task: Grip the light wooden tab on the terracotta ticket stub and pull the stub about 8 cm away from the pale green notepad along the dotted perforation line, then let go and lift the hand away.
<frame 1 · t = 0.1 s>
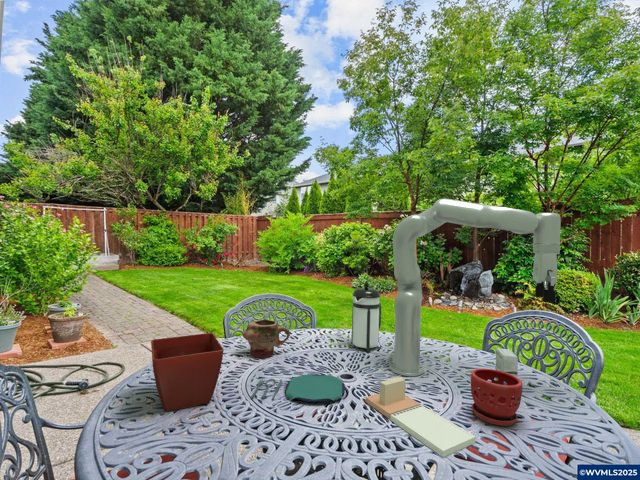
hand: (544, 299, 114), 31 cm above the table, tool pointing down, fingers open, 9 cm apart
cutlery set: (300, 392, 111), on the table
pale green notepad: (430, 430, 89), on the table
plant pot: (185, 399, 103), on the table
plant pot 2: (494, 417, 97), on the table
ink box: (505, 385, 118), on the table
coffee press: (365, 347, 156), on the table
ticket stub: (392, 393, 102), point 4 cm above the table, slide at 0.0 cm
brown rounded handled piece: (265, 355, 143), on the table
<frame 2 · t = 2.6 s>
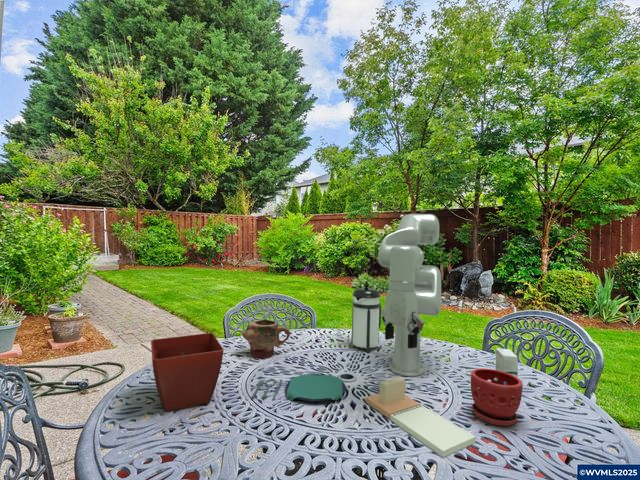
hand: (400, 343, 102), 19 cm above the table, tool pointing down, fingers open, 9 cm apart
nothing on the table moved.
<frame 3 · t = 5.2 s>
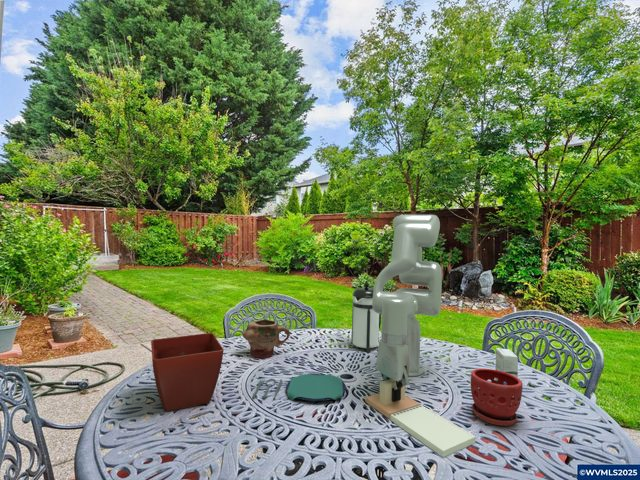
hand: (392, 398, 102), 2 cm above the table, tool pointing down, fingers closed on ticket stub, 2 cm apart
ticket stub: (392, 393, 102), point 4 cm above the table, slide at 0.0 cm, touching gripper
everything else where it was.
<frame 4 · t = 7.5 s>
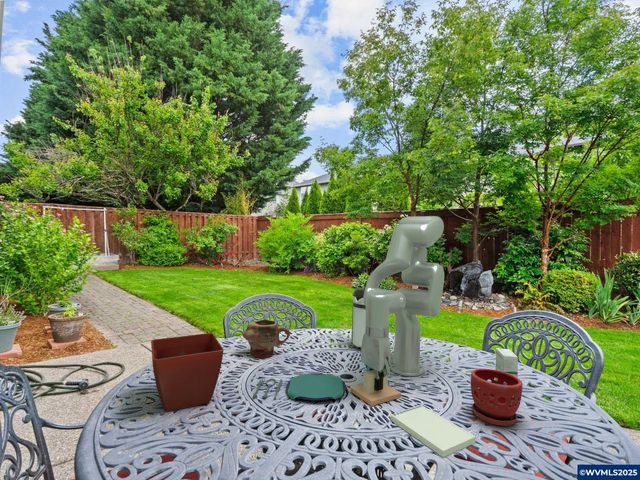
hand: (375, 387, 109), 2 cm above the table, tool pointing down, fingers closed on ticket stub, 2 cm apart
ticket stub: (375, 382, 109), point 4 cm above the table, slide at 8.0 cm, touching gripper
everything else where it was.
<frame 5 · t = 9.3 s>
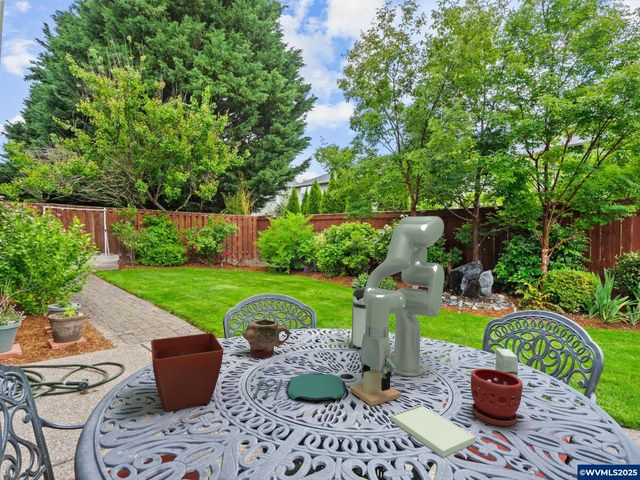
hand: (375, 383, 109), 4 cm above the table, tool pointing down, fingers open, 9 cm apart
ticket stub: (375, 382, 109), point 4 cm above the table, slide at 8.0 cm
everything else where it was.
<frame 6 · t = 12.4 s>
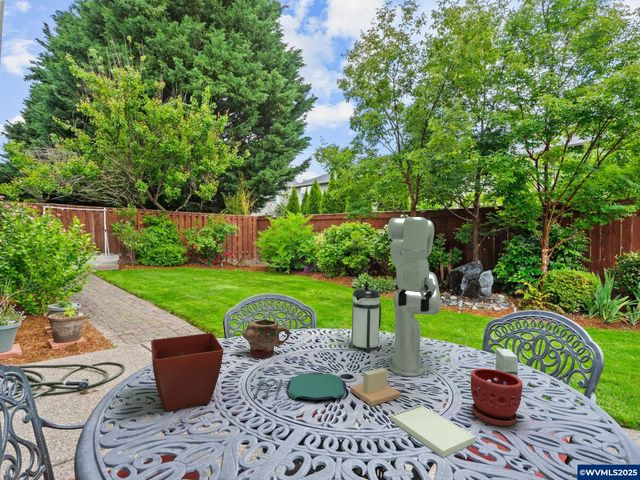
hand: (413, 308, 109), 28 cm above the table, tool pointing down, fingers open, 9 cm apart
at the end: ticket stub slide at 8.0 cm; the gripper is holding nothing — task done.
